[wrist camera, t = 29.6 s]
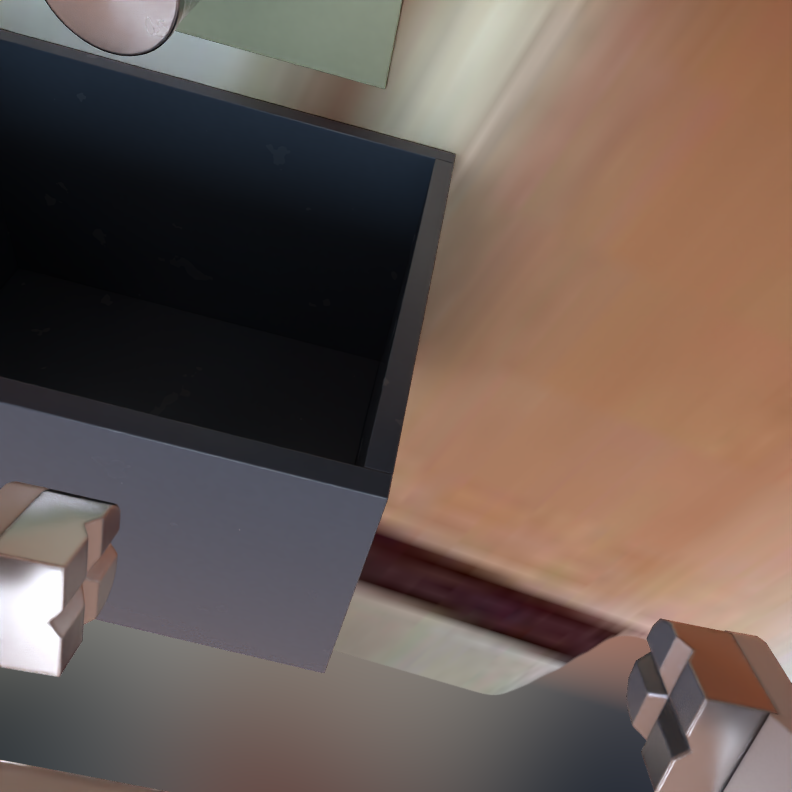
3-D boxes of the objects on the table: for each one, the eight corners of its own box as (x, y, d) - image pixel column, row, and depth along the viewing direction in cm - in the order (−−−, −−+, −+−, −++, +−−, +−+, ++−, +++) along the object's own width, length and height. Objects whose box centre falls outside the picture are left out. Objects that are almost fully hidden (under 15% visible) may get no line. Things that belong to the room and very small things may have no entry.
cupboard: (-54, 13, 43) (-475, 283, 25) (456, 153, 45) (388, 499, 27) (14, 265, 58) (-222, 544, 40) (393, 363, 59) (324, 673, 42)
